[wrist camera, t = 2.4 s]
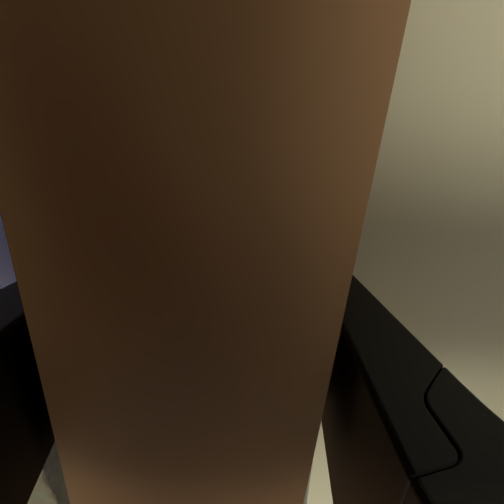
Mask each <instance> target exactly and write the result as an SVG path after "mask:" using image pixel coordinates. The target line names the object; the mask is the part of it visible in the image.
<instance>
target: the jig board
mask: <svg viewBox="0 0 504 504" xmlns="http://www.w3.org/2000/svg"><path fill="white" fill-rule="evenodd" d="M353 275H354V276H355V277H356V278H357V279H358V280H359V281H360V282H361V283H362V284H363V285H364V286H365V287H366V288H367V289H368V290H369V291H370V292H371V293H372V294H373V295H374V296H375V297H376V298H377V299H378V300H379V301H380V302H381V303H382V304H383V305H384V306H385V307H386V308H387V309H388V310H389V311H390V312H391V313H392V314H393V315H394V316H395V317H396V318H397V319H398V320H399V321H400V322H401V323H402V324H403V325H404V326H405V327H406V328H407V329H408V330H409V331H410V332H411V333H412V334H413V335H414V336H415V337H416V338H417V339H418V340H419V341H420V342H421V343H422V344H423V345H424V346H425V347H426V348H427V349H428V350H429V351H430V352H431V353H432V354H433V355H434V356H435V357H436V358H437V359H438V360H439V361H440V362H441V363H442V364H443V367H445V368H447V369H448V370H449V371H450V372H451V373H452V374H453V375H454V376H455V377H456V378H457V379H458V380H459V381H460V382H461V383H462V384H463V385H464V386H465V387H466V388H467V389H469V390H470V391H471V392H472V393H473V394H474V395H475V396H476V397H477V398H478V399H479V400H480V401H481V402H482V403H483V404H484V405H486V406H487V407H488V408H489V409H490V410H491V411H493V412H494V413H495V414H496V415H497V416H498V417H499V418H501V419H502V420H503V421H504V0H411V4H410V9H409V14H408V18H407V23H406V28H405V32H404V37H403V42H402V46H401V51H400V56H399V60H398V65H397V70H396V74H395V79H394V84H393V88H392V93H391V98H390V102H389V107H388V112H387V116H386V121H385V126H384V130H383V135H382V140H381V144H380V149H379V154H378V158H377V163H376V168H375V172H374V177H373V182H372V186H371V191H370V196H369V200H368V205H367V210H366V214H365V219H364V224H363V228H362V233H361V238H360V242H359V247H358V252H357V256H356V261H355V266H354V270H353ZM303 504H333V500H332V493H331V486H330V479H329V471H328V464H327V457H326V450H325V443H324V436H323V429H322V422H321V424H320V429H319V433H318V438H317V443H316V447H315V452H314V457H313V461H312V466H311V471H310V475H309V480H308V485H307V489H306V494H305V499H304V503H303Z"/></svg>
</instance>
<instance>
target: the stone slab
mask: <svg viewBox="0 0 504 504" xmlns="http://www.w3.org/2000/svg"><path fill="white" fill-rule="evenodd" d="M27 504H70V501H69V497H68V492H67V488H66V484H65V480H64V476H63V471H62V467H61V463H60V459H59V455H58V451H57V446H56V442H55V443H54V445H53V447H52V449H51V452H50V454H49V456H48V458H47V461H46V463H45V465H44V467H43V469H42V472H41V474H40V476H39V478H38V481H37V483H36V485H35V487H34V490H33V492H32V494H31V496H30V499H29V501H28V503H27Z"/></svg>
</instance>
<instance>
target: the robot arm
mask: <svg viewBox="0 0 504 504" xmlns="http://www.w3.org/2000/svg"><path fill="white" fill-rule="evenodd" d="M321 422H322V429H323V436H324V443H325V450H326V457H327V464H328V471H329V479H330V486H331V493H332V500H333V504H504V421H503V420H502V419H501V418H499V417H498V416H497V415H496V414H495V413H494V412H493V411H491V410H490V409H489V408H488V407H487V406H486V405H484V404H483V403H482V402H481V401H480V400H479V399H478V398H477V397H476V396H475V395H474V394H473V393H472V392H471V391H470V390H469V389H467V388H466V387H465V386H464V385H463V384H462V383H461V382H460V381H459V380H458V379H457V378H456V377H455V376H454V375H453V374H452V373H451V372H450V371H449V370H448V369H447V368H445V367H443V364H442V363H441V362H440V361H439V360H438V359H437V358H436V357H435V356H434V355H433V354H432V353H431V352H430V351H429V350H428V349H427V348H426V347H425V346H424V345H423V344H422V343H421V342H420V341H419V340H418V339H417V338H416V337H415V336H414V335H413V334H412V333H411V332H410V331H409V330H408V329H407V328H406V327H405V326H404V325H403V324H402V323H401V322H400V321H399V320H398V319H397V318H396V317H395V316H394V315H393V314H392V313H391V312H390V311H389V310H388V309H387V308H386V307H385V306H384V305H383V304H382V303H381V302H380V301H379V300H378V299H377V298H376V297H375V296H374V295H373V294H372V293H371V292H370V291H369V290H368V289H367V288H366V287H365V286H364V285H363V284H362V283H361V282H360V281H359V280H358V279H357V278H356V277H355V276H354V275H352V280H351V284H350V289H349V294H348V298H347V303H346V308H345V312H344V317H343V322H342V326H341V331H340V336H339V340H338V345H337V350H336V354H335V359H334V364H333V368H332V373H331V377H330V382H329V387H328V391H327V396H326V401H325V405H324V410H323V415H322V419H321ZM54 443H55V438H54V434H53V430H52V426H51V421H50V417H49V413H48V409H47V405H46V401H45V396H44V392H43V388H42V384H41V380H40V375H39V371H38V367H37V363H36V359H35V355H34V350H33V346H32V342H31V338H30V334H29V330H28V325H27V321H26V317H25V313H24V309H23V304H22V300H21V296H20V292H19V288H18V284H17V282H15V283H13V284H11V285H9V286H7V287H5V288H3V289H0V504H27V503H28V501H29V499H30V496H31V494H32V492H33V490H34V487H35V485H36V483H37V481H38V478H39V476H40V474H41V472H42V469H43V467H44V465H45V463H46V461H47V458H48V456H49V454H50V452H51V449H52V447H53V445H54Z"/></svg>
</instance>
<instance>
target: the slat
mask: <svg viewBox="0 0 504 504" xmlns="http://www.w3.org/2000/svg"><path fill="white" fill-rule="evenodd" d="M410 4H411V0H0V213H1V217H2V221H3V225H4V229H5V233H6V238H7V242H8V246H9V250H10V254H11V259H12V263H13V267H14V271H15V275H16V279H17V284H18V288H19V292H20V296H21V300H22V304H23V309H24V313H25V317H26V321H27V325H28V330H29V334H30V338H31V342H32V346H33V350H34V355H35V359H36V363H37V367H38V371H39V375H40V380H41V384H42V388H43V392H44V396H45V401H46V405H47V409H48V413H49V417H50V421H51V426H52V430H53V434H54V438H55V442H56V446H57V451H58V455H59V459H60V463H61V467H62V471H63V476H64V480H65V484H66V488H67V492H68V497H69V501H70V504H303V503H304V499H305V494H306V489H307V485H308V480H309V475H310V471H311V466H312V461H313V457H314V452H315V447H316V443H317V438H318V433H319V429H320V424H321V419H322V415H323V410H324V405H325V401H326V396H327V391H328V387H329V382H330V377H331V373H332V368H333V364H334V359H335V354H336V350H337V345H338V340H339V336H340V331H341V326H342V322H343V317H344V312H345V308H346V303H347V298H348V294H349V289H350V284H351V280H352V275H353V270H354V266H355V261H356V256H357V252H358V247H359V242H360V238H361V233H362V228H363V224H364V219H365V214H366V210H367V205H368V200H369V196H370V191H371V186H372V182H373V177H374V172H375V168H376V163H377V158H378V154H379V149H380V144H381V140H382V135H383V130H384V126H385V121H386V116H387V112H388V107H389V102H390V98H391V93H392V88H393V84H394V79H395V74H396V70H397V65H398V60H399V56H400V51H401V46H402V42H403V37H404V32H405V28H406V23H407V18H408V14H409V9H410Z"/></svg>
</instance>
